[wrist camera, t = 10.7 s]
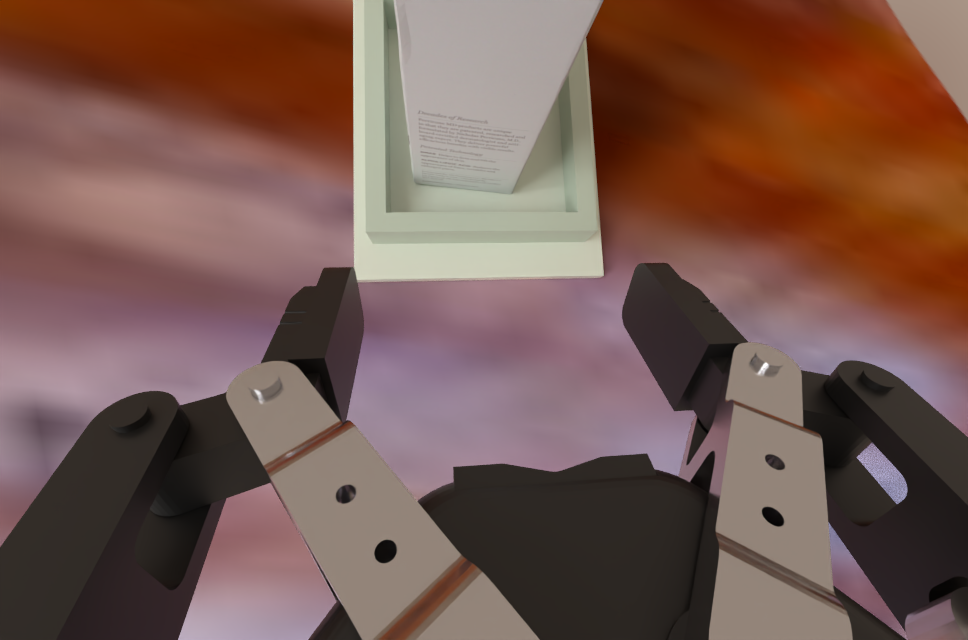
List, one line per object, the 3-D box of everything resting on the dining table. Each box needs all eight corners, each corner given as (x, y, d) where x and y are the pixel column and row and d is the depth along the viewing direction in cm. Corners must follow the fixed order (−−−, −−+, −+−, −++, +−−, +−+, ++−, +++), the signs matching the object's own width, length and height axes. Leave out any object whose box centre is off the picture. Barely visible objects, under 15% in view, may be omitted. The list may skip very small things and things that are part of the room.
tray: (356, 282, 22) (345, 271, 20) (355, -10, 24) (344, -54, 22) (599, 277, 24) (618, 267, 21) (579, 2, 26) (594, -38, 23)
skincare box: (425, 57, 24) (393, -445, 9) (526, 71, 24) (651, -384, 10) (413, 193, 23) (356, -125, 8) (518, 204, 23) (646, -77, 9)
